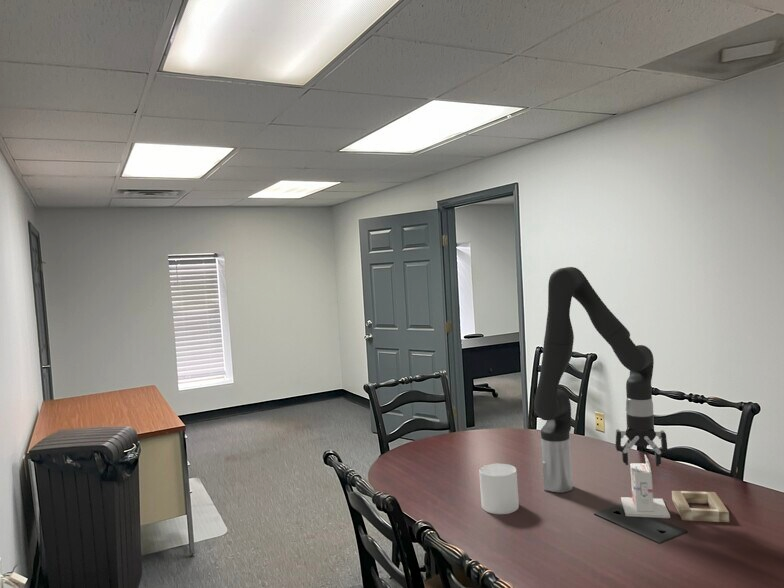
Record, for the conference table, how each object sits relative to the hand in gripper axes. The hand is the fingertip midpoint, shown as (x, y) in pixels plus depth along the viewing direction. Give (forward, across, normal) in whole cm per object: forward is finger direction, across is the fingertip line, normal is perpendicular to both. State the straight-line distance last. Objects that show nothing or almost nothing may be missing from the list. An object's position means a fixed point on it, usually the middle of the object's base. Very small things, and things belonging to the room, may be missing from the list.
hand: (641, 464), depth 171 cm
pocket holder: (+13, +15, 0) cm, 20 cm away
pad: (+13, 0, 0) cm, 13 cm away
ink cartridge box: (+13, 0, 0) cm, 13 cm away
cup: (+14, -43, -3) cm, 45 cm away
